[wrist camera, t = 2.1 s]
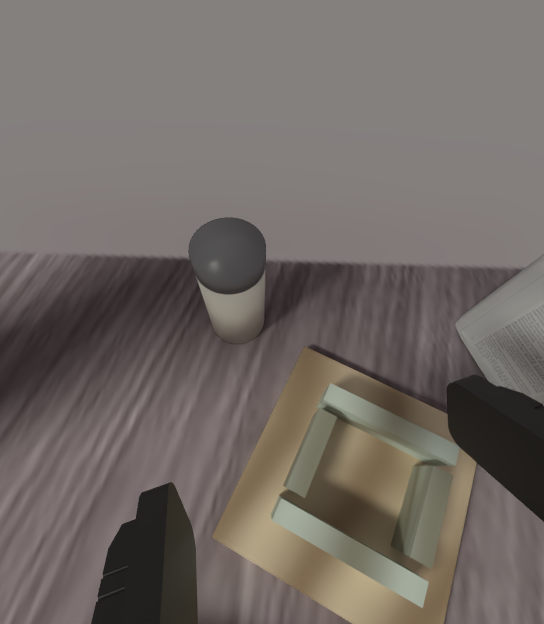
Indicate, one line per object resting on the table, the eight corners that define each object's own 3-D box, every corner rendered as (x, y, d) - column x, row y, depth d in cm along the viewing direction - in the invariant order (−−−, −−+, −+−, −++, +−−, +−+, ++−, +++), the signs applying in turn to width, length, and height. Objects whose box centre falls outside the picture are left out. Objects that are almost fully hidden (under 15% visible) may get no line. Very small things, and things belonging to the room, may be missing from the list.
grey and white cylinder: (202, 329, 28) (173, 260, 18) (228, 288, 29) (214, 207, 20) (248, 353, 27) (242, 292, 18) (273, 309, 29) (278, 234, 20)
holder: (213, 534, 21) (204, 547, 18) (303, 350, 27) (309, 331, 23) (425, 663, 19) (463, 709, 15) (475, 432, 25) (511, 425, 21)
